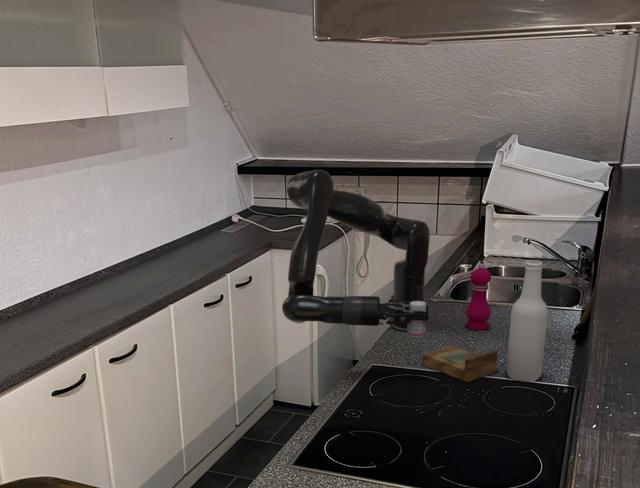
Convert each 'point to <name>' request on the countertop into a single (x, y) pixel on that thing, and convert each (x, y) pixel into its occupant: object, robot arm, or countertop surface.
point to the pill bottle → (417, 321)
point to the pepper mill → (479, 300)
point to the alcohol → (528, 328)
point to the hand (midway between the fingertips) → (428, 312)
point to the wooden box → (461, 363)
